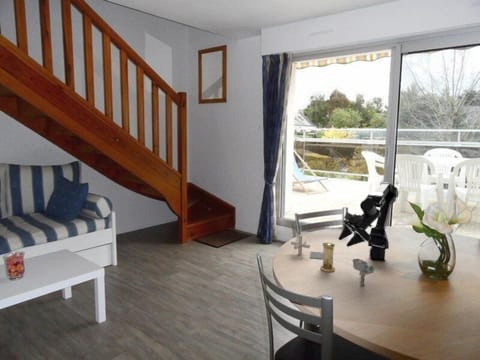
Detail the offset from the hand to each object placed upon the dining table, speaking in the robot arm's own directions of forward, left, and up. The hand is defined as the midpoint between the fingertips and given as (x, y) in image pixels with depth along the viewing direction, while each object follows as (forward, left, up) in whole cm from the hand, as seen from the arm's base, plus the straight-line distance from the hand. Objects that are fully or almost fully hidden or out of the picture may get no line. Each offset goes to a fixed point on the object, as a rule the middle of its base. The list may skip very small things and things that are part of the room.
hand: (342, 242), depth 166 cm
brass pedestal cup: (+6, +2, -13) cm, 14 cm away
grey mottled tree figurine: (-8, +16, -13) cm, 22 cm away
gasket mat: (+11, -15, -13) cm, 22 cm away
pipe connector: (+20, -15, -13) cm, 28 cm away
